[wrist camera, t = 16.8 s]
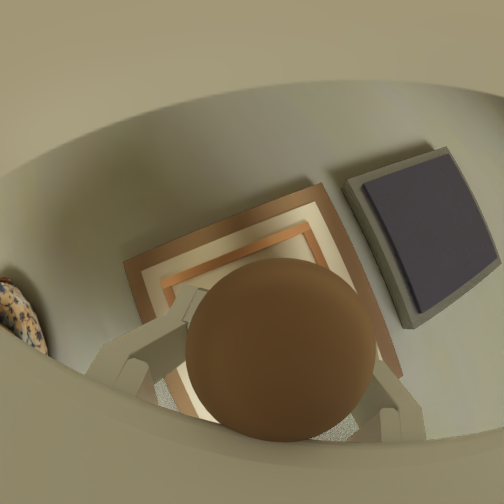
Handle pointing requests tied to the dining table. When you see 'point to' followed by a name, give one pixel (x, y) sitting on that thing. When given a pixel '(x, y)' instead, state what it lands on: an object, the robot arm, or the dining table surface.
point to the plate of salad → (20, 316)
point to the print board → (247, 251)
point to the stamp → (280, 350)
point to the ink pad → (423, 232)
